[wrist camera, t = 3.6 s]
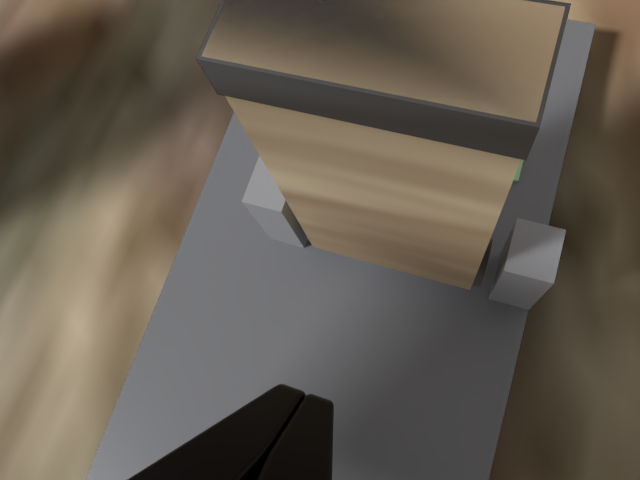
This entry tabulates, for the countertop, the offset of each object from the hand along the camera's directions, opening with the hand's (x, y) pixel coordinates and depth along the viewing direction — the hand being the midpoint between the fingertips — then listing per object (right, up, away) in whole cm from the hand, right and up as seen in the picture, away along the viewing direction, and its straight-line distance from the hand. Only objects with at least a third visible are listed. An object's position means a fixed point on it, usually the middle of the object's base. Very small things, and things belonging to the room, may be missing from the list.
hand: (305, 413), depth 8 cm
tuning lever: (+2, +3, +6) cm, 7 cm away
